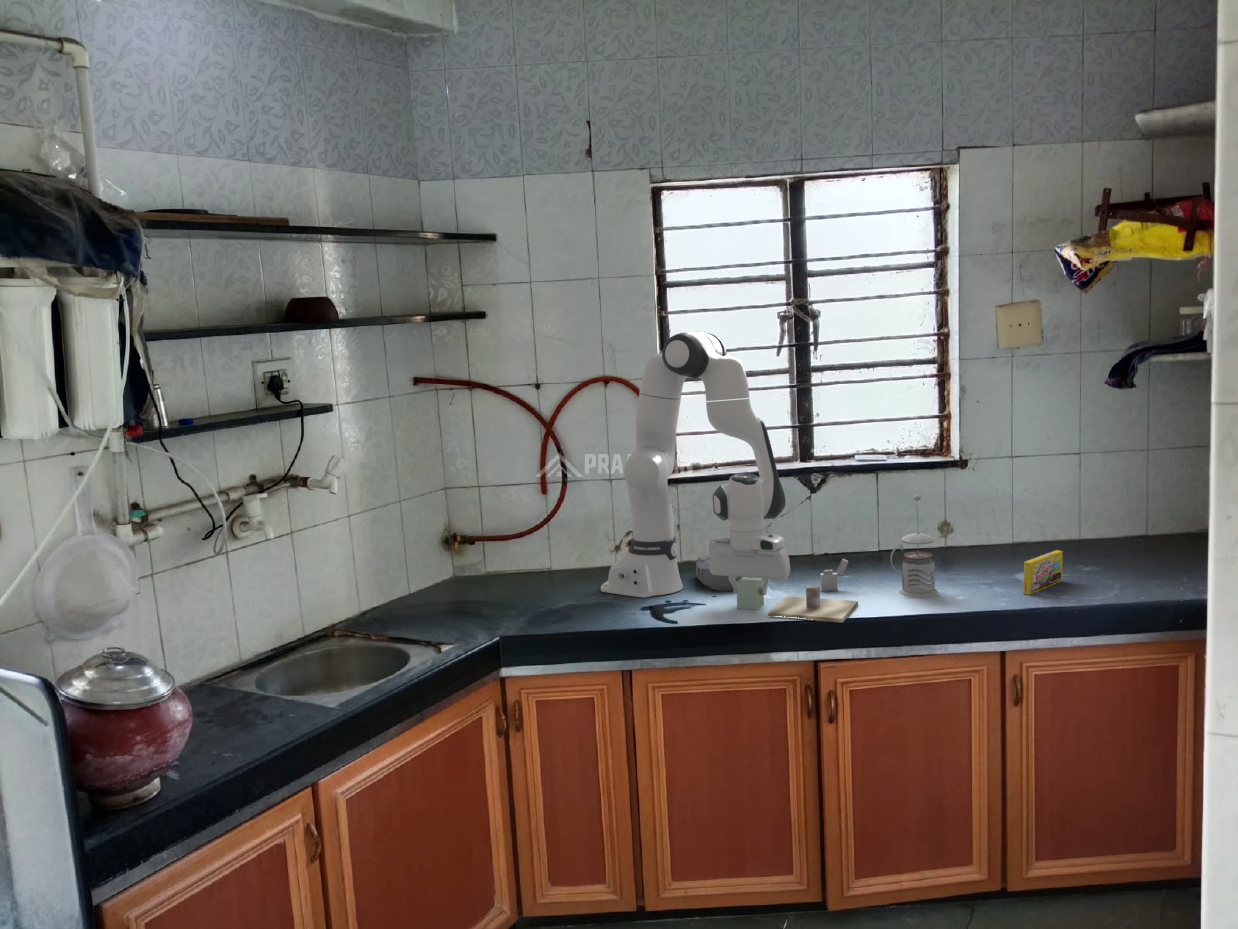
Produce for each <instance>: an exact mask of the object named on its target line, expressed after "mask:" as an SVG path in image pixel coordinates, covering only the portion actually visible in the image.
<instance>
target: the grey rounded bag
mask: <svg viewBox="0 0 1238 929" xmlns="http://www.w3.org/2000/svg"><path fill="white" fill-rule="evenodd" d="M695 562H696V563H695V575H696V577H697V579H698V580H699V581H700V583H702V584H703V586H705V588H706V587H707V588H708V589H710V590H714V591H719V592H720V591H721V592H725V591H734V588H733V586H732V584H731V583H730V581H729V576H721V575H712V574H711V572H710V570H709V565H710V553H707V554H704V555H702V556H699V558H697V560H696V561H695ZM741 578H743V577H737V578H736V579H735V580H736V582H737V581H739V580H740V579H741ZM749 578H753V577H749Z"/></svg>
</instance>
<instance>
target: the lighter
mask: <svg viewBox="0 0 1238 929" xmlns="http://www.w3.org/2000/svg"><path fill="white" fill-rule="evenodd" d="M848 564H849V561H848V560H847V559H845V558H841V561H840V562H839V565H838V567H837V569H836V572H833V569H825V570H823V572H822V573H819V578H820V580H819V582H820V590H822V591H821V592H828V590H834V591H838V576H840V577H842V576H843V574H844V573H845V571H846V569H847V566H848ZM826 590H827V591H826Z"/></svg>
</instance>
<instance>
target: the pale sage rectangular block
mask: <svg viewBox="0 0 1238 929" xmlns="http://www.w3.org/2000/svg"><path fill="white" fill-rule="evenodd" d="M763 585H764V582H763V578H753V577H752V578H749V577H743V578H741V579H740V580H739V581H737V582H736V591H737V593H736V607H737V609H742V610H743V609H744V610H754V609H758V610H759V609H760V608H761V607H762V606H763V605H764V604H765V596H764V595H759V588H760V587H763Z"/></svg>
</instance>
